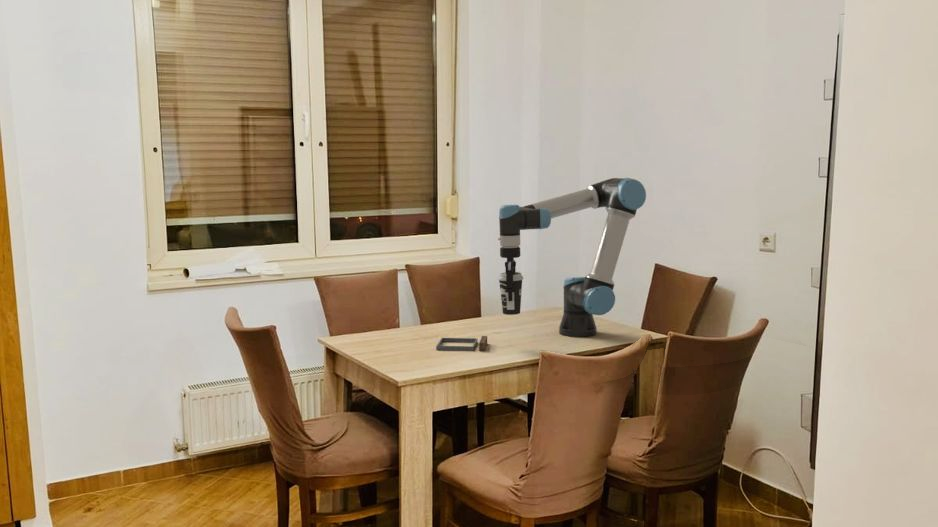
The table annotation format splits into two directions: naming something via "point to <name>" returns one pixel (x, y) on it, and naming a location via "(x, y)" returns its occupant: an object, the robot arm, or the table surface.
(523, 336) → the table surface
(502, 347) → the table surface
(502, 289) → the coffee cup
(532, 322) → the table surface
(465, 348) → the frame
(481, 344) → the edge strip
